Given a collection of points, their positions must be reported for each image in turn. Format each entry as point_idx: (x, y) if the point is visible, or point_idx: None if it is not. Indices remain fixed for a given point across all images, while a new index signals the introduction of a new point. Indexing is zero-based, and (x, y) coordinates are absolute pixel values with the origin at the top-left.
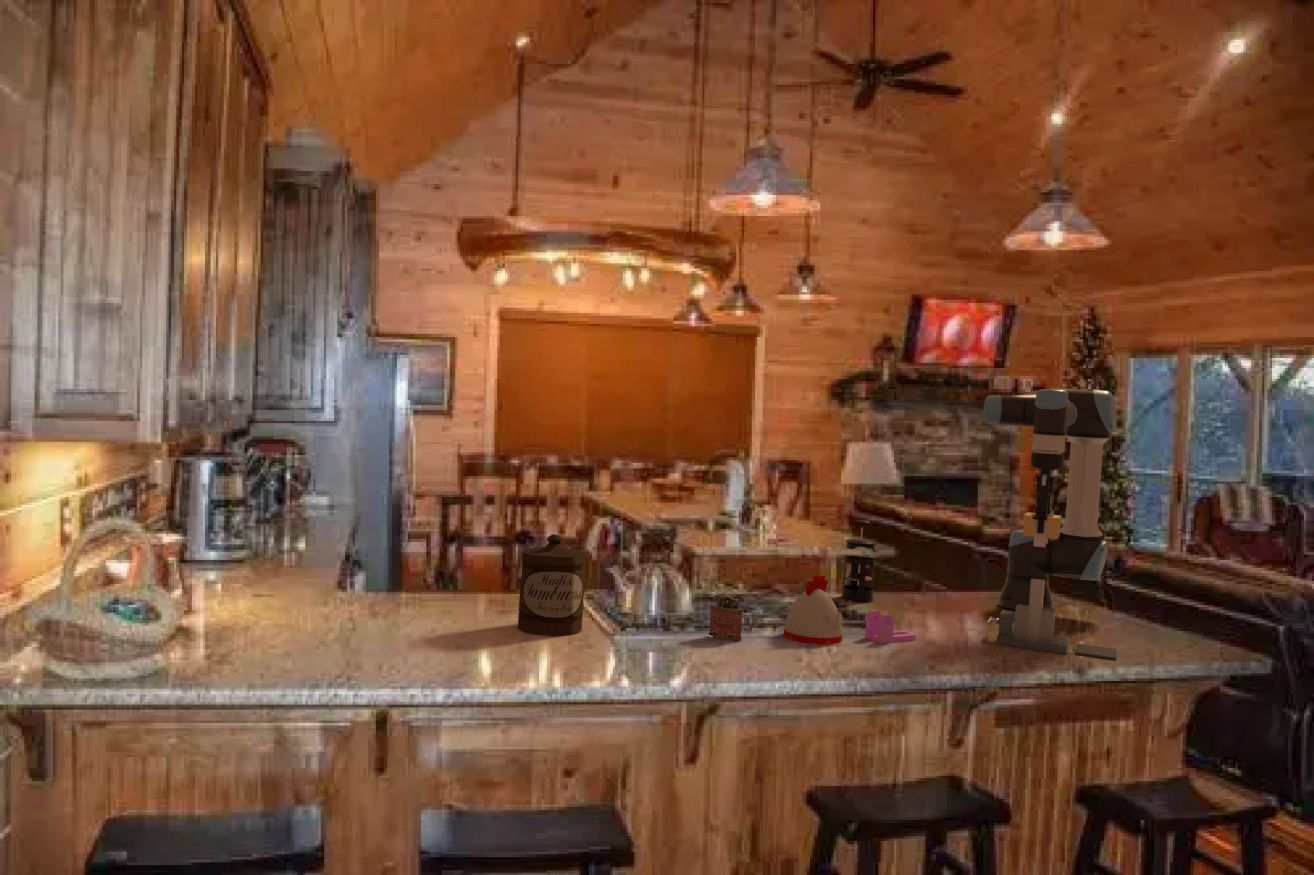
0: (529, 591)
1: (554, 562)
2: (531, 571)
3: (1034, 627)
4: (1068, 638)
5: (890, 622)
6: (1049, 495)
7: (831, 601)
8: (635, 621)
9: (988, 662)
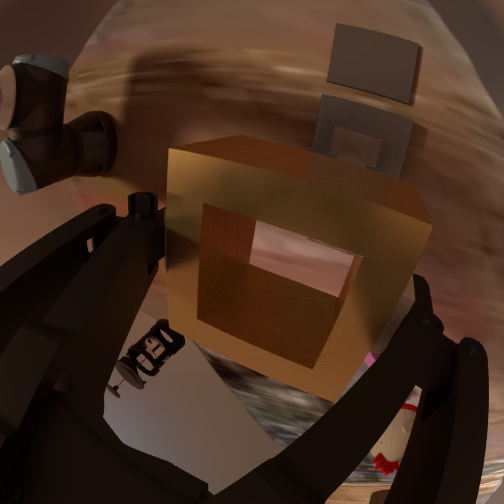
0: None
1: None
2: None
3: None
4: (340, 98)
5: None
6: (89, 328)
7: (399, 445)
8: (359, 477)
9: (498, 275)
